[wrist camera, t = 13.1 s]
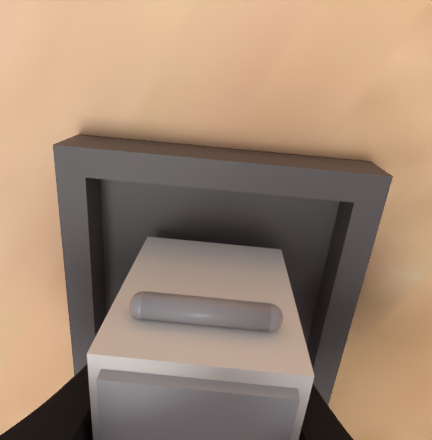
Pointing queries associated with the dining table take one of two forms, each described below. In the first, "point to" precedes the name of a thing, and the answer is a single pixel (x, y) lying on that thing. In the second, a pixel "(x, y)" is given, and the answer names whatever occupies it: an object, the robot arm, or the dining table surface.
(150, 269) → the white box with handle
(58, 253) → the dining table surface
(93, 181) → the tray
